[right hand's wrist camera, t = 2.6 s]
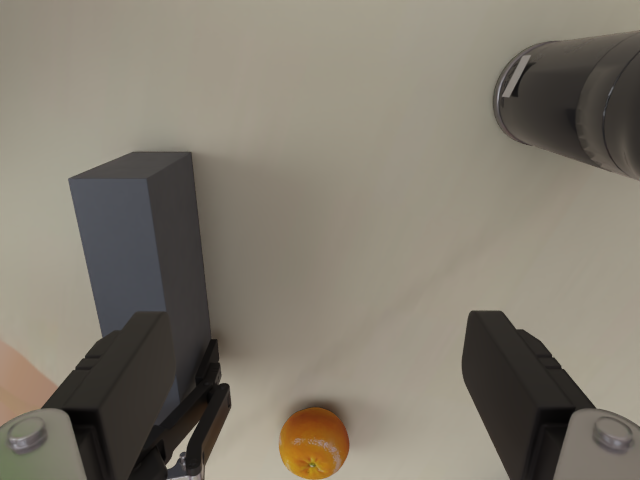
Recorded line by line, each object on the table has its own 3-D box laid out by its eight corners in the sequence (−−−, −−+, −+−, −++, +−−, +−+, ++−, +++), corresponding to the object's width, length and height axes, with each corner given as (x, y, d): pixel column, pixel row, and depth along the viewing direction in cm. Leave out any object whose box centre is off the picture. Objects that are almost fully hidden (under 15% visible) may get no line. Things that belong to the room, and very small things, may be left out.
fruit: (257, 454, 53) (290, 499, 47) (284, 390, 53) (320, 426, 47) (308, 455, 58) (344, 495, 52) (331, 397, 59) (370, 430, 52)
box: (132, 151, 43) (67, 178, 32) (191, 151, 43) (146, 178, 32) (165, 358, 52) (123, 434, 41) (213, 358, 52) (185, 434, 41)
